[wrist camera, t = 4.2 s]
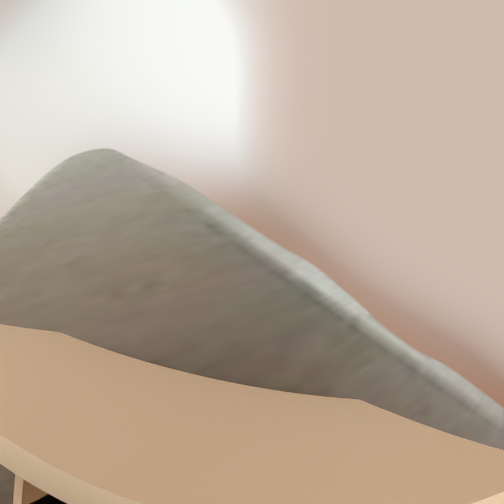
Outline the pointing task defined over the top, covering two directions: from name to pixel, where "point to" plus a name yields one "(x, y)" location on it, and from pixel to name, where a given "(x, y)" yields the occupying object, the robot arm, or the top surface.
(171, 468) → the carton flap
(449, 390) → the top surface
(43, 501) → the robot arm
